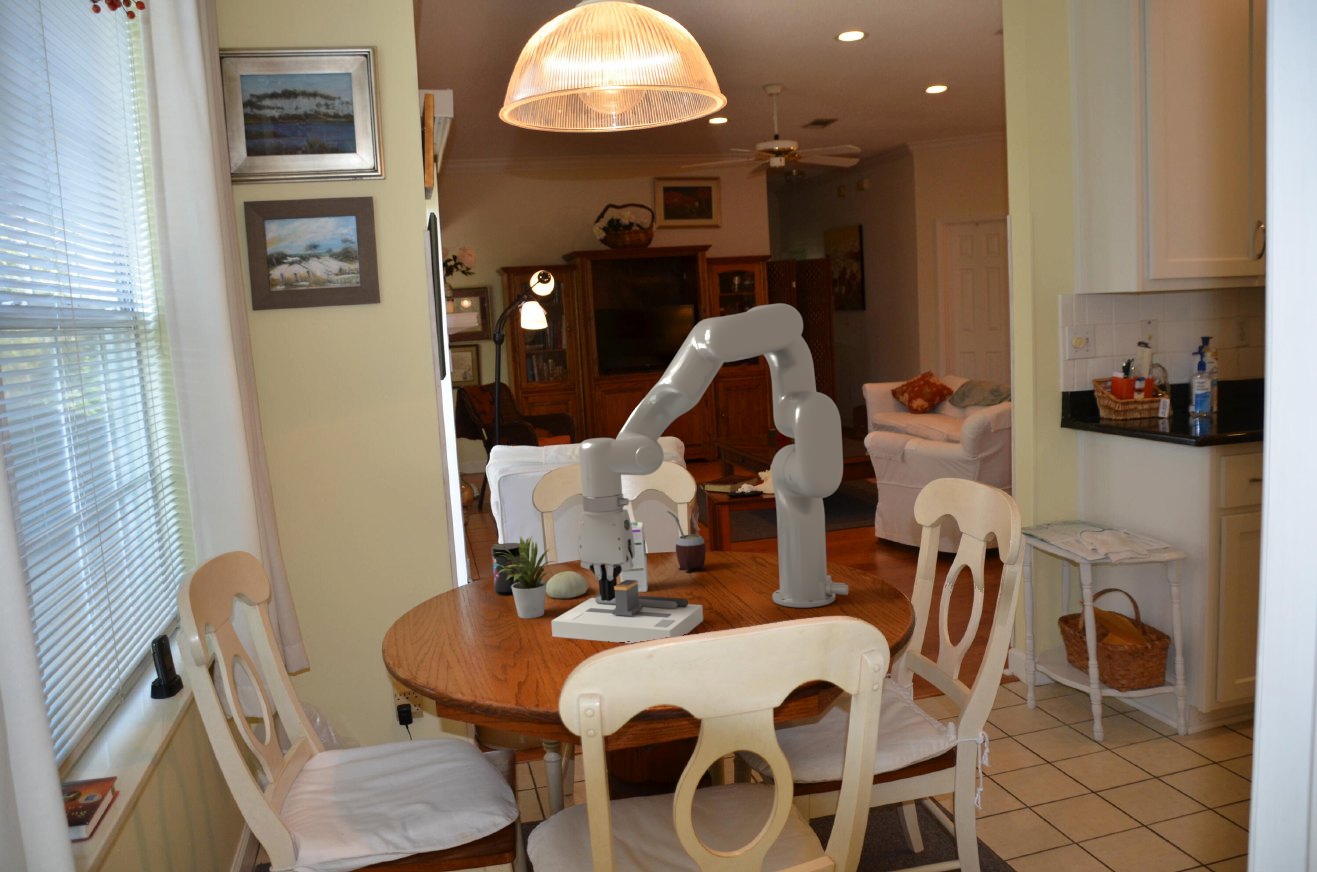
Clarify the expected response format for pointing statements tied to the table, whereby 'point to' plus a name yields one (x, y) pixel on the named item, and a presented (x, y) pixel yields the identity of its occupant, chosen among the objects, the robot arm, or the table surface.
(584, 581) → the sea urchin shell
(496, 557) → the supplement container
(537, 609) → the house plant
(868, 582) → the table surface
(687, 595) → the table surface
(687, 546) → the mate gourd
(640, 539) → the syrup box
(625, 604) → the handle
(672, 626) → the base
